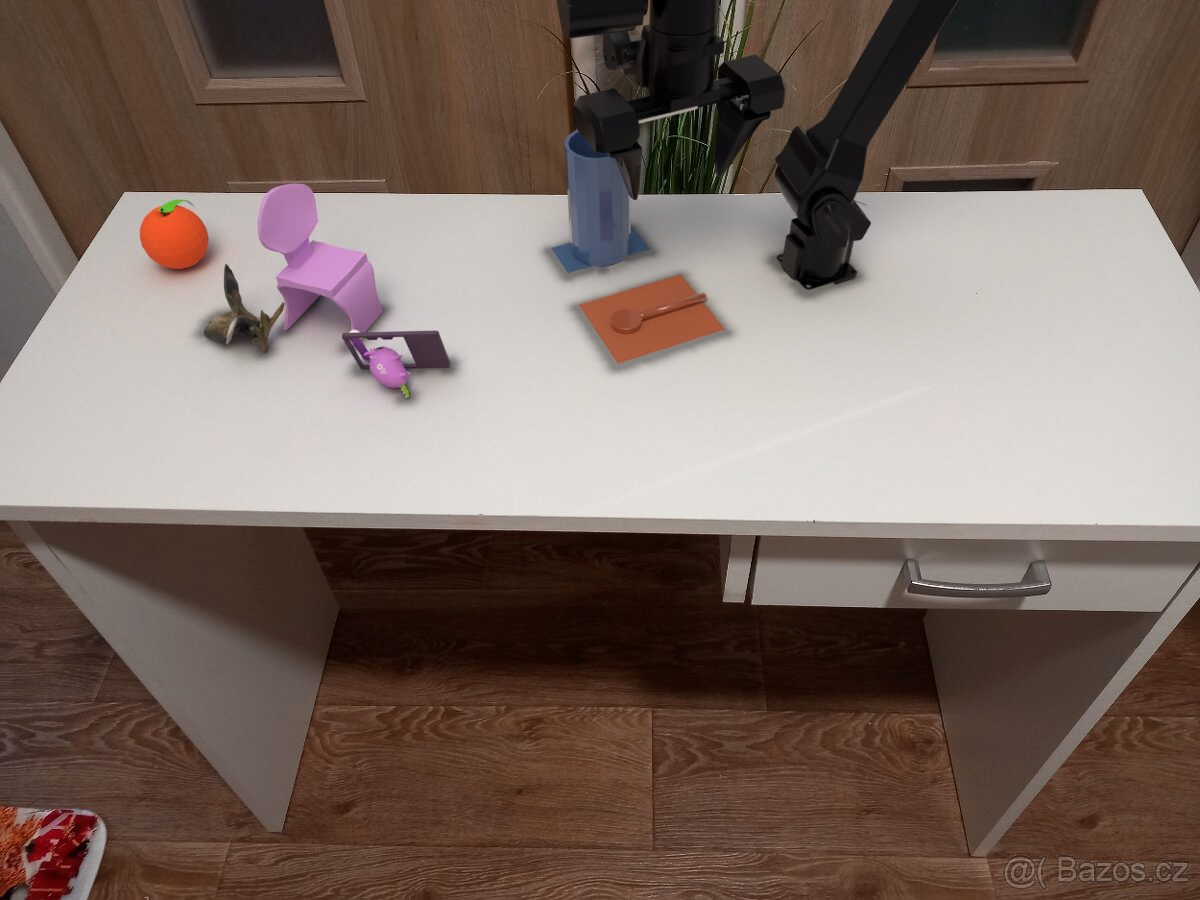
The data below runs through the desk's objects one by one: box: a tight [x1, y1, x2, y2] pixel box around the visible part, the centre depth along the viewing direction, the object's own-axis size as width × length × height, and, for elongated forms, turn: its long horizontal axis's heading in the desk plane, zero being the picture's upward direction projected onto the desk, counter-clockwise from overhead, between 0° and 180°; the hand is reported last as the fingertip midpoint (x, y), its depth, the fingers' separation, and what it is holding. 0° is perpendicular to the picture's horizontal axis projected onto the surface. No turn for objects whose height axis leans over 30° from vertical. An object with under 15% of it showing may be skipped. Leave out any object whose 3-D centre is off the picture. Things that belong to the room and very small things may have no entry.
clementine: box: [139, 199, 210, 270], centre depth 100 cm, size 8×7×7 cm
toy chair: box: [257, 183, 384, 347], centre depth 89 cm, size 8×9×15 cm
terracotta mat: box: [578, 274, 726, 365], centre depth 93 cm, size 12×10×1 cm
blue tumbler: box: [563, 129, 632, 267], centre depth 96 cm, size 7×7×13 cm
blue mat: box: [551, 225, 651, 274], centre depth 101 cm, size 10×5×1 cm, turn 114°
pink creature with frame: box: [341, 329, 451, 399], centre depth 86 cm, size 7×5×9 cm
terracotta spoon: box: [611, 292, 708, 334], centre depth 93 cm, size 11×3×1 cm, turn 114°
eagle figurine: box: [203, 263, 286, 354], centre depth 92 cm, size 8×7×9 cm
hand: (676, 186), depth 87 cm, fingers open, 9 cm apart
